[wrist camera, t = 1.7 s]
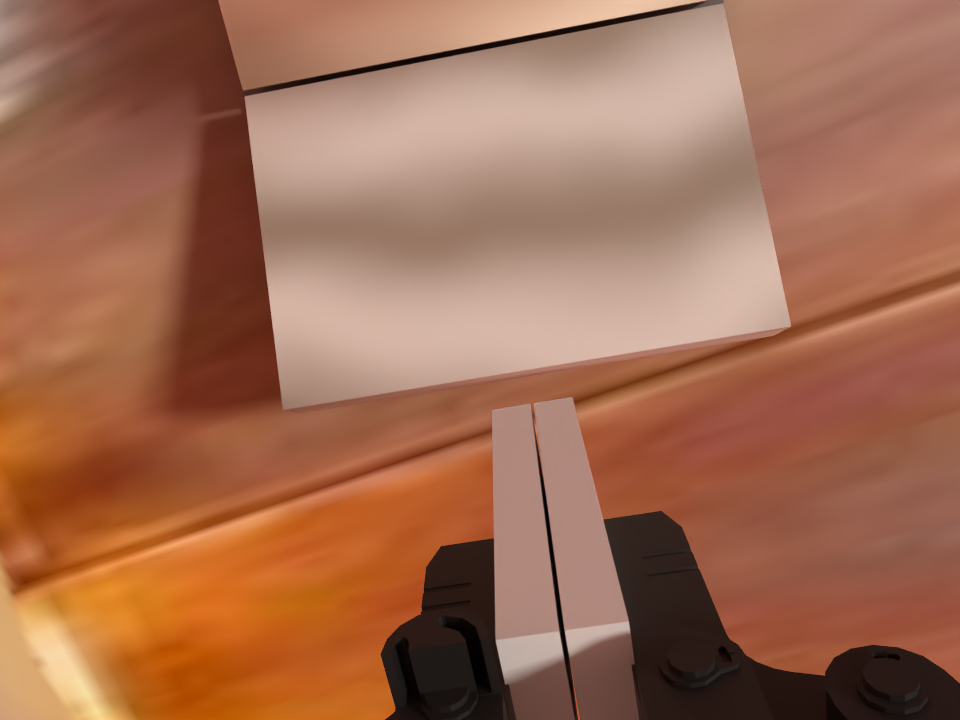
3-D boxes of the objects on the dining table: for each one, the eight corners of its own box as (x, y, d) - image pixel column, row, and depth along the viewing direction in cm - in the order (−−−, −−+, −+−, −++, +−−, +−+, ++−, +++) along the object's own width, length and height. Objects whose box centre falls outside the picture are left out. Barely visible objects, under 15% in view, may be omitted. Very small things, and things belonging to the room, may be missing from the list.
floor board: (151, -262, 23) (120, -291, 21) (694, -386, 22) (714, -430, 20) (326, 385, 31) (315, 407, 29) (741, 316, 30) (759, 334, 28)
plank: (264, 120, 27) (244, 96, 25) (711, 34, 26) (723, 3, 24) (301, 412, 25) (283, 409, 24) (773, 335, 24) (790, 326, 23)
